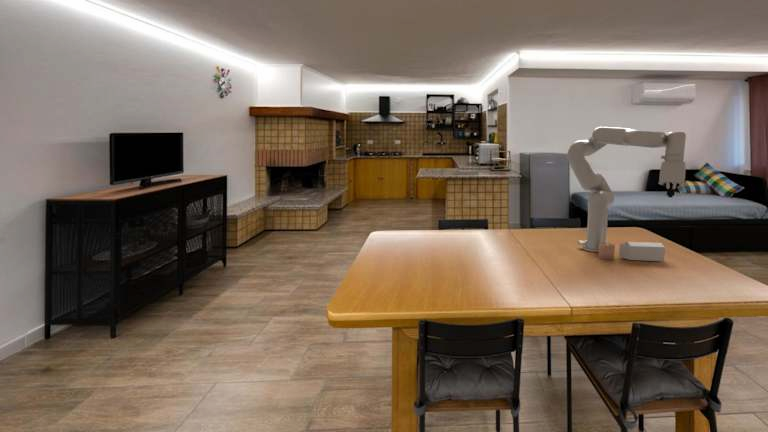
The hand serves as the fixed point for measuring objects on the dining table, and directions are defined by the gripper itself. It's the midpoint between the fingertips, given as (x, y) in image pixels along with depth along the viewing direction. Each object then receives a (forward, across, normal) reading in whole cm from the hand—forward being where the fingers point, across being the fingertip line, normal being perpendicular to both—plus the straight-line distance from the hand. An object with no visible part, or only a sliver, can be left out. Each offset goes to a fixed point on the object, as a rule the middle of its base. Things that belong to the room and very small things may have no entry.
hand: (670, 197), depth 214 cm
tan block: (+31, -24, -12) cm, 41 cm away
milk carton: (+26, -1, -2) cm, 27 cm away
